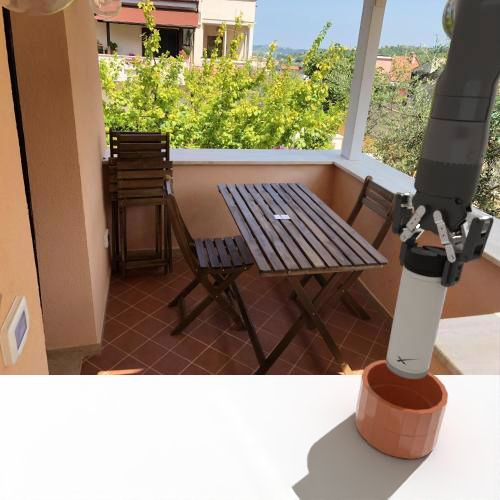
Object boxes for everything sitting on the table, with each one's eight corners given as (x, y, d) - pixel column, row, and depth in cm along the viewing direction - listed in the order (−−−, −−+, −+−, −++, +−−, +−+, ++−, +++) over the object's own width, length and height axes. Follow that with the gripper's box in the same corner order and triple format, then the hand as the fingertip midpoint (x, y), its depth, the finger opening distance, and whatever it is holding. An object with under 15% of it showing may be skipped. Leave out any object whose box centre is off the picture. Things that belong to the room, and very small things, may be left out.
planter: (394, 393, 79) (402, 352, 75) (453, 443, 68) (466, 397, 65) (339, 414, 73) (345, 371, 70) (394, 472, 62) (405, 424, 59)
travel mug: (402, 384, 62) (427, 257, 55) (377, 357, 68) (398, 240, 61) (438, 378, 64) (468, 254, 57) (411, 352, 70) (435, 237, 63)
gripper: (524, 165, 50) (489, 291, 56) (426, 147, 62) (406, 253, 68) (483, 168, 47) (451, 302, 53) (388, 149, 59) (370, 260, 65)
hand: (426, 274), depth 60 cm, fingers closed on travel mug, 6 cm apart
